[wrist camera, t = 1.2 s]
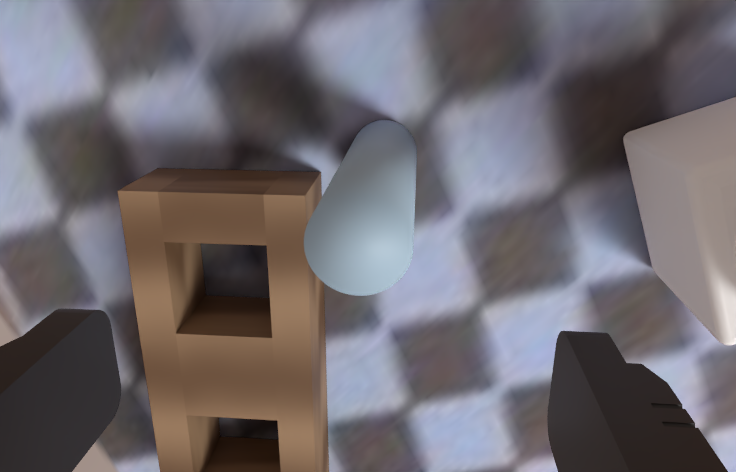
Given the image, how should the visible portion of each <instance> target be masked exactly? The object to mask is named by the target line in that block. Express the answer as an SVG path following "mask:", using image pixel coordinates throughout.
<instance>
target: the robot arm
mask: <svg viewBox="0 0 736 472" xmlns="http://www.w3.org/2000/svg"><path fill="white" fill-rule="evenodd" d="M120 396H121V383H120V377H119V371H118V365H117V359H116V353H115V347H114V341H113V335H112V329H111V324H110V320H109V318H108V316H107V314H106V313H105V312H103V311H101V310H84V309H58V310H56V311H54V312H53V313H51V314H50V315H49V316H47V317H46V318H45V319H44V320H42V321H41V322H40V323H39V324H37V325H36V326H35V327H34V328H32V329H31V330H30V331H28V332H27V333H26V334H25V335H23V336H22V337H19V338H17V339H15V340H13V341H11V342H9V343H7V344H5V345H3V346H1V347H0V472H72V471H73V470H74V468H75V467H76V465H77V464H78V463H79V462H80V461H81V459H82V458H83V457H84V456H85V454H86V453H87V452H88V450H89V449H90V448H91V447H92V445H93V444H94V443H95V441H96V440H97V439H98V438H99V436H100V435H101V434H102V432H103V431H104V430H105V429H106V427H107V426H108V425H109V423H110V422H111V421H112V419H113V418H114V416H115V414H116V412H117V409H118V406H119V402H120ZM548 435H549V441H550V446H551V449H552V453H553V456H554V459H555V463H556V466H557V469H558V472H728V471H727V470H726V468H725V467H724V465H723V464H722V462H721V461H720V459H719V458H718V457H717V455H716V454H715V452H714V451H713V449H712V448H711V446H710V445H709V443H708V442H707V440H706V439H705V437H704V436H703V435H702V433H701V432H700V430H699V429H698V428H695V423H694V421H693V420H692V418H691V417H690V415H689V414H688V413H687V411H686V410H685V409H682V404H681V402H680V401H679V399H678V398H677V396H676V395H675V393H674V392H673V391H672V389H671V388H670V386H669V385H668V383H667V382H665V381H664V380H663V379H661V378H660V377H659V376H657V375H656V374H655V373H653V372H652V371H650V370H649V369H648V368H646V367H645V366H644V365H642V364H632V363H626V362H625V360H624V358H623V357H622V355H621V353H620V352H619V350H618V348H617V347H616V345H615V343H614V342H613V340H612V338H611V337H610V335H609V334H607V333H598V332H575V331H561V332H560V333H559V335H558V338H557V343H556V350H555V358H554V366H553V373H552V381H551V389H550V397H549V405H548Z"/></svg>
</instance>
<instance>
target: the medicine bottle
mask: <svg viewBox="0 0 736 472" xmlns="http://www.w3.org/2000/svg"><path fill="white" fill-rule="evenodd" d="M623 142H624V147H625V151H626V155H627V160H628V164H629V168H630V173H631V177H632V181H633V186H634V190H635V194H636V199H637V203H638V207H639V212H640V216H641V220H642V225H643V229H644V233H645V238H646V242H647V246H648V251H649V255H650V259H651V264H652V268H653V270H654V272H655V273H656V274H657V275H658V276H659V277H660V279H661V280H662V281H663V282H664V283H665V284H666V285H667V286H668V287H669V288H670V289H671V290H672V291H673V293H674V294H675V295H676V296H677V297H678V298H679V299H680V300H681V301H682V302H683V303H684V304H685V306H686V307H687V308H688V309H689V310H690V311H691V312H692V313H693V314H694V315H695V316H696V317H697V318H698V320H699V321H700V322H701V323H702V324H703V325H704V326H705V327H706V328H707V329H708V330H709V331H710V333H711V334H712V335H713V336H714V337H715V338H716V339H717V340H718V341H719V342H721V343H723V344H725V345H734V344H736V97H734V98H731V99H728V100H724V101H721V102H718V103H715V104H712V105H709V106H706V107H703V108H700V109H697V110H694V111H691V112H688V113H685V114H682V115H679V116H675V117H672V118H669V119H666V120H663V121H660V122H657V123H654V124H651V125H648V126H645V127H642V128H639V129H636V130H633V131H629V132H628V133H626V134H625V136H624V137H623Z"/></svg>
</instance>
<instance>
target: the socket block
mask: <svg viewBox="0 0 736 472" xmlns="http://www.w3.org/2000/svg"><path fill="white" fill-rule="evenodd" d="M118 197H119V204H120V210H121V217H122V224H123V230H124V237H125V243H126V250H127V256H128V263H129V269H130V276H131V283H132V289H133V296H134V302H135V309H136V315H137V322H138V329H139V335H140V342H141V348H142V355H143V361H144V368H145V375H146V381H147V388H148V394H149V401H150V407H151V414H152V421H153V427H154V434H155V440H156V447H157V453H158V460H159V466H160V472H329V455H328V418H327V381H326V343H325V306H324V282H322V281H321V280H320V279H319V278H318V277H317V276H316V274H315V273H314V272H313V270H312V269H311V267H310V265H309V263H308V261H307V258H306V255H305V251H304V234H305V230H306V227H307V224H308V222H309V220H310V218H311V216H312V214H313V212H314V211H315V209H316V207H317V205H318V203H319V202H320V200H321V198H322V194H321V172H299V171H256V170H212V169H168V168H157V169H155V170H154V171H152V172H150V173H148V174H147V175H145V176H143V177H141V178H139V179H138V180H136V181H134V182H132V183H131V184H129V185H127V186H125V187H123V188H122V189H120V190H118ZM200 243H207V244H237V245H267V261H268V277H269V293H270V298H260V297H235V296H210V295H206V291H205V282H204V272H203V263H202V253H201V244H200ZM219 417H225V418H242V419H259V420H277V421H278V437H279V440H273V439H257V438H240V437H224V436H221V435H220V425H219Z"/></svg>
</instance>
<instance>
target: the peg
mask: <svg viewBox="0 0 736 472" xmlns="http://www.w3.org/2000/svg"><path fill="white" fill-rule="evenodd" d="M416 161H417V148H416V143H415V140H414V138H413V136H412V135H411V133H410V132H409V131H408V130H407V129H406V128H405V127H404V126H403V125H401V124H399V123H397V122H394V121H390V120H378V121H374V122H371V123H369V124H368V125H366V126H365V127H363V128H362V129H361V130H360V131H359V133H358V134H357V136H356V137H355V139H354V141H353V143H352V145H351V146H350V148H349V150H348V152H347V154H346V155H345V157H344V159H343V161H342V162H341V164H340V166H339V168H338V170H337V171H336V173H335V175H334V177H333V178H332V180H331V182H330V184H329V186H328V187H327V189H326V191H325V193H324V195H323V196H322V198H321V200H320V202H319V203H318V205H317V207H316V209H315V211H314V212H313V214H312V216H311V218H310V220H309V222H308V224H307V227H306V230H305V234H304V251H305V255H306V258H307V261H308V263H309V265H310V267H311V269H312V270H313V272H314V273H315V274H316V276H317V277H318V278H319V279H320V280H321V281H322V282H324V283H325V284H326V285H328V286H329V287H331V288H333V289H335V290H337V291H339V292H342V293H345V294H349V295H357V296H365V295H372V294H376V293H379V292H382V291H384V290H386V289H388V288H390V287H391V286H393V285H394V284H395V283H397V282H398V281H399V280H400V279H401V278H402V276H403V275H404V274H405V272H406V271H407V269H408V267H409V265H410V262H411V259H412V255H413V243H414V216H415V188H416Z"/></svg>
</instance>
